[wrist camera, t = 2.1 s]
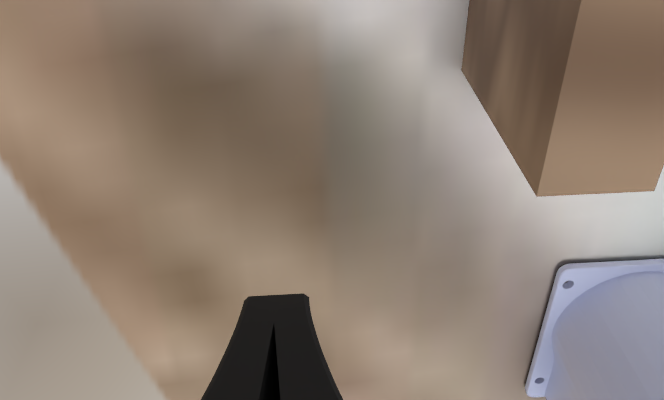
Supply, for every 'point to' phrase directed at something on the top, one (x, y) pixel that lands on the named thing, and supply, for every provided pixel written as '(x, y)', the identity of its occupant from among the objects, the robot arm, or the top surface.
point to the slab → (573, 89)
